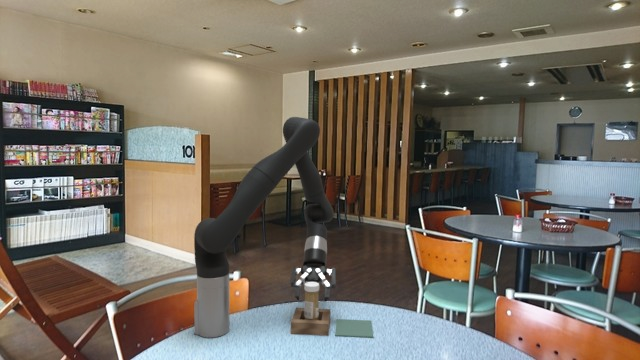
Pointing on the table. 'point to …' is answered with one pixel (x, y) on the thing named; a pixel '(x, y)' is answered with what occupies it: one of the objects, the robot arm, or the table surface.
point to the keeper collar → (310, 323)
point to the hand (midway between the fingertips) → (311, 299)
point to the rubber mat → (354, 328)
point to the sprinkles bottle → (311, 301)
